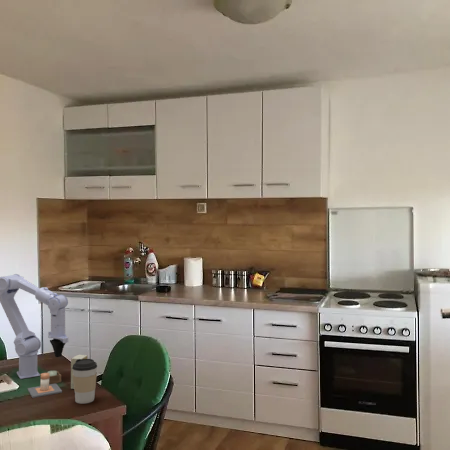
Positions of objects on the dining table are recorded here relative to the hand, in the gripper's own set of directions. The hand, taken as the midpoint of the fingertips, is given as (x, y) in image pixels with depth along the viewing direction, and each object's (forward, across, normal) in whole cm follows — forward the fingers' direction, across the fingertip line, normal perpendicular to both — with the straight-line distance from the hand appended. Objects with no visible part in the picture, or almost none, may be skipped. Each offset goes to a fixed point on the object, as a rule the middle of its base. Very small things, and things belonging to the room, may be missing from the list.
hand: (58, 356), depth 211 cm
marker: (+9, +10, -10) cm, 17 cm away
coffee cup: (+10, +29, -3) cm, 31 cm away
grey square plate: (+9, +10, -10) cm, 17 cm away
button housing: (+9, +1, -3) cm, 10 cm away
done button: (+9, +1, -3) cm, 9 cm away
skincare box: (+10, +15, +2) cm, 18 cm away
